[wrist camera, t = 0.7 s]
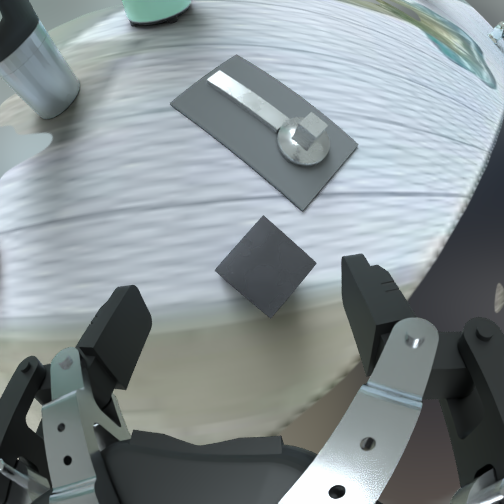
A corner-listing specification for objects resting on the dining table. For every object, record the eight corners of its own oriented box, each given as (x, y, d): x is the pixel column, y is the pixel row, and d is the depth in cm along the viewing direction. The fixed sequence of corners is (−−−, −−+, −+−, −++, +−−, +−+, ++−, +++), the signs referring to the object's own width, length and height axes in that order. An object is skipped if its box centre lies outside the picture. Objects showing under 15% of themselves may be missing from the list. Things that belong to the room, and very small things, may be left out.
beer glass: (484, 31, 52) (499, 18, 37) (492, 38, 53) (507, 25, 38) (490, 40, 52) (506, 26, 37) (498, 47, 52) (514, 34, 37)
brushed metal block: (217, 271, 33) (214, 270, 22) (250, 234, 33) (263, 215, 23) (255, 303, 33) (270, 318, 22) (287, 266, 34) (316, 263, 23)
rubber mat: (170, 105, 34) (169, 103, 33) (236, 56, 35) (236, 54, 35) (302, 211, 34) (303, 210, 34) (357, 145, 36) (358, 144, 36)
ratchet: (196, 92, 34) (193, 68, 28) (229, 68, 35) (231, 43, 29) (306, 177, 34) (320, 161, 29) (334, 145, 35) (350, 127, 30)
